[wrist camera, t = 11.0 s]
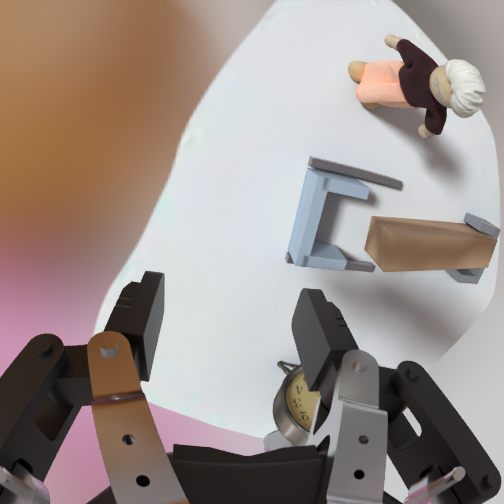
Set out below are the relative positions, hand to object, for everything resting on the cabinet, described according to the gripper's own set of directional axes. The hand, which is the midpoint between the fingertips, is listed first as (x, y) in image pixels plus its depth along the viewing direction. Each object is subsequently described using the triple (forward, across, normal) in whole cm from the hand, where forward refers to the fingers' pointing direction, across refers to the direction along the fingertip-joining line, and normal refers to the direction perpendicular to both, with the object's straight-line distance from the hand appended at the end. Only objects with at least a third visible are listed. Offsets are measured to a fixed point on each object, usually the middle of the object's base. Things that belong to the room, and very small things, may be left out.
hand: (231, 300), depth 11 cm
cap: (+13, -8, 0) cm, 16 cm away
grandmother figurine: (+14, -10, -12) cm, 21 cm away
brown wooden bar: (+14, -21, 0) cm, 25 cm away
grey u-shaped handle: (+13, -28, 0) cm, 32 cm away
